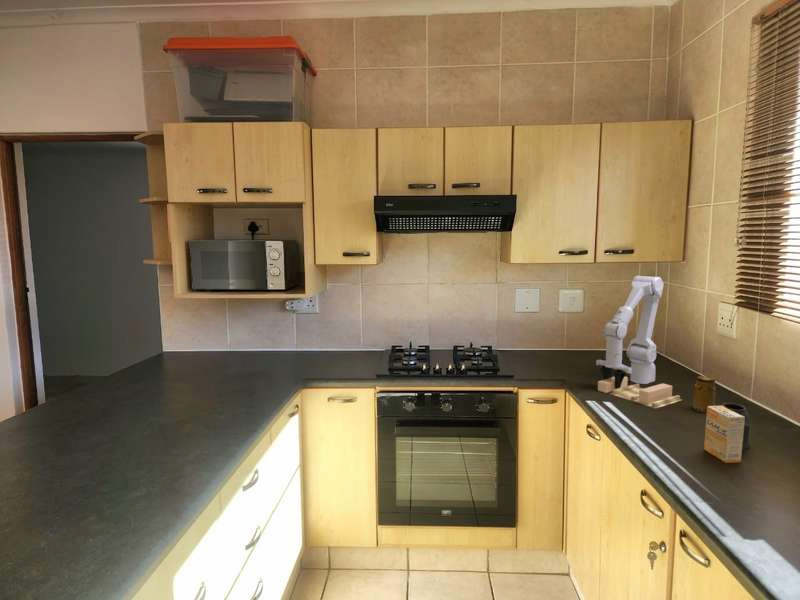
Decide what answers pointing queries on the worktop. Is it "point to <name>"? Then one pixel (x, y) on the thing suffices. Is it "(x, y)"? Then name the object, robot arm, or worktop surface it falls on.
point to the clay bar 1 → (610, 384)
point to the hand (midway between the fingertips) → (612, 386)
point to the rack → (633, 395)
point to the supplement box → (724, 433)
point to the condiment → (704, 393)
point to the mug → (743, 412)
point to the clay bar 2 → (655, 393)
